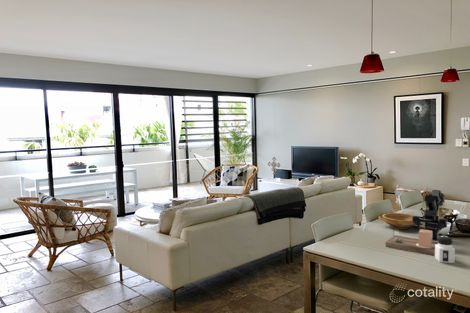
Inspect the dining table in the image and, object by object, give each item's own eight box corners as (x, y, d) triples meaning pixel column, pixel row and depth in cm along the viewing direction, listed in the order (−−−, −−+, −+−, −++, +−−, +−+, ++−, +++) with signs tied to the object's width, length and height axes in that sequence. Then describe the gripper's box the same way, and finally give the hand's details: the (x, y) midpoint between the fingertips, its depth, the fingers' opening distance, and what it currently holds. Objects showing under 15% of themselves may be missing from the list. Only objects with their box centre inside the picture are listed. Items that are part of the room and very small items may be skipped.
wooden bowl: (379, 230, 263) (379, 219, 262) (377, 222, 286) (377, 211, 285) (425, 232, 254) (425, 221, 253) (419, 224, 277) (419, 213, 276)
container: (454, 263, 197) (455, 239, 196) (439, 262, 198) (439, 238, 197) (449, 258, 204) (450, 235, 203) (434, 257, 206) (435, 234, 205)
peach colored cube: (420, 242, 222) (420, 229, 221) (432, 244, 218) (432, 230, 217) (418, 245, 216) (418, 231, 216) (430, 247, 213) (430, 233, 212)
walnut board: (394, 239, 240) (394, 231, 240) (442, 247, 222) (442, 239, 222) (385, 246, 226) (385, 238, 226) (436, 255, 208) (436, 246, 208)
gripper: (413, 203, 232) (409, 224, 224) (446, 206, 221) (444, 228, 213) (415, 212, 239) (411, 233, 231) (448, 216, 228) (445, 238, 220)
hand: (427, 233), depth 223 cm, fingers open, 9 cm apart
